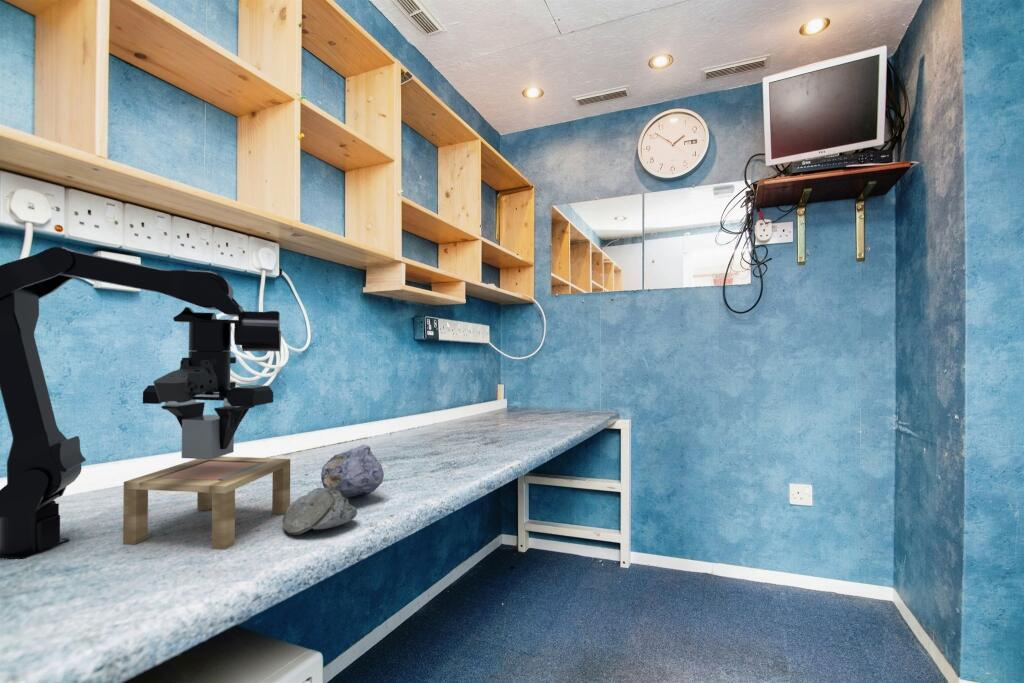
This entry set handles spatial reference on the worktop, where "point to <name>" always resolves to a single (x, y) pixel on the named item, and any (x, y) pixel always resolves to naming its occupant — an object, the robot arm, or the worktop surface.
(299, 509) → the fossilized seashell
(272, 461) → the trapdoor frame
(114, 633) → the worktop surface
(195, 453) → the grey block
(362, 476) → the rock
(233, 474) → the trapdoor
